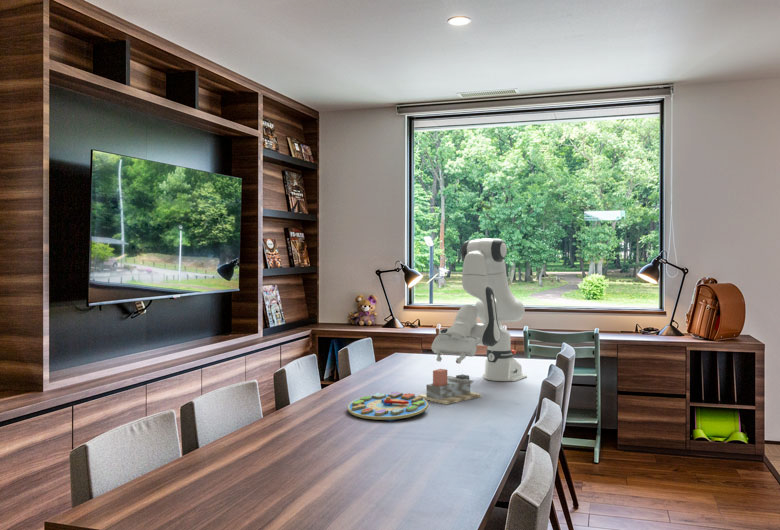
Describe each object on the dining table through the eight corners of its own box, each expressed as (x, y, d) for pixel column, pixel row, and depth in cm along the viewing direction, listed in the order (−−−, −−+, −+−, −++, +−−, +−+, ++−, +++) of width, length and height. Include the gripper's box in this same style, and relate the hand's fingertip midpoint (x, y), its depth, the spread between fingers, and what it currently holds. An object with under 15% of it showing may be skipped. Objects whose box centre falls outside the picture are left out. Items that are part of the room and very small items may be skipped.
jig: (453, 390, 280) (453, 372, 280) (481, 396, 268) (481, 377, 268) (418, 397, 265) (418, 378, 265) (446, 404, 253) (446, 384, 253)
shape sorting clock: (331, 412, 241) (331, 397, 241) (385, 399, 263) (386, 385, 263) (390, 427, 220) (390, 410, 220) (444, 412, 242) (444, 396, 242)
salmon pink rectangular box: (440, 390, 266) (440, 368, 265) (447, 391, 263) (447, 369, 263) (432, 392, 261) (432, 370, 261) (439, 393, 259) (439, 371, 259)
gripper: (482, 341, 270) (472, 368, 263) (441, 338, 282) (430, 363, 274) (477, 332, 266) (467, 359, 259) (436, 329, 278) (424, 355, 271)
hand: (447, 361), depth 267 cm, fingers open, 8 cm apart
